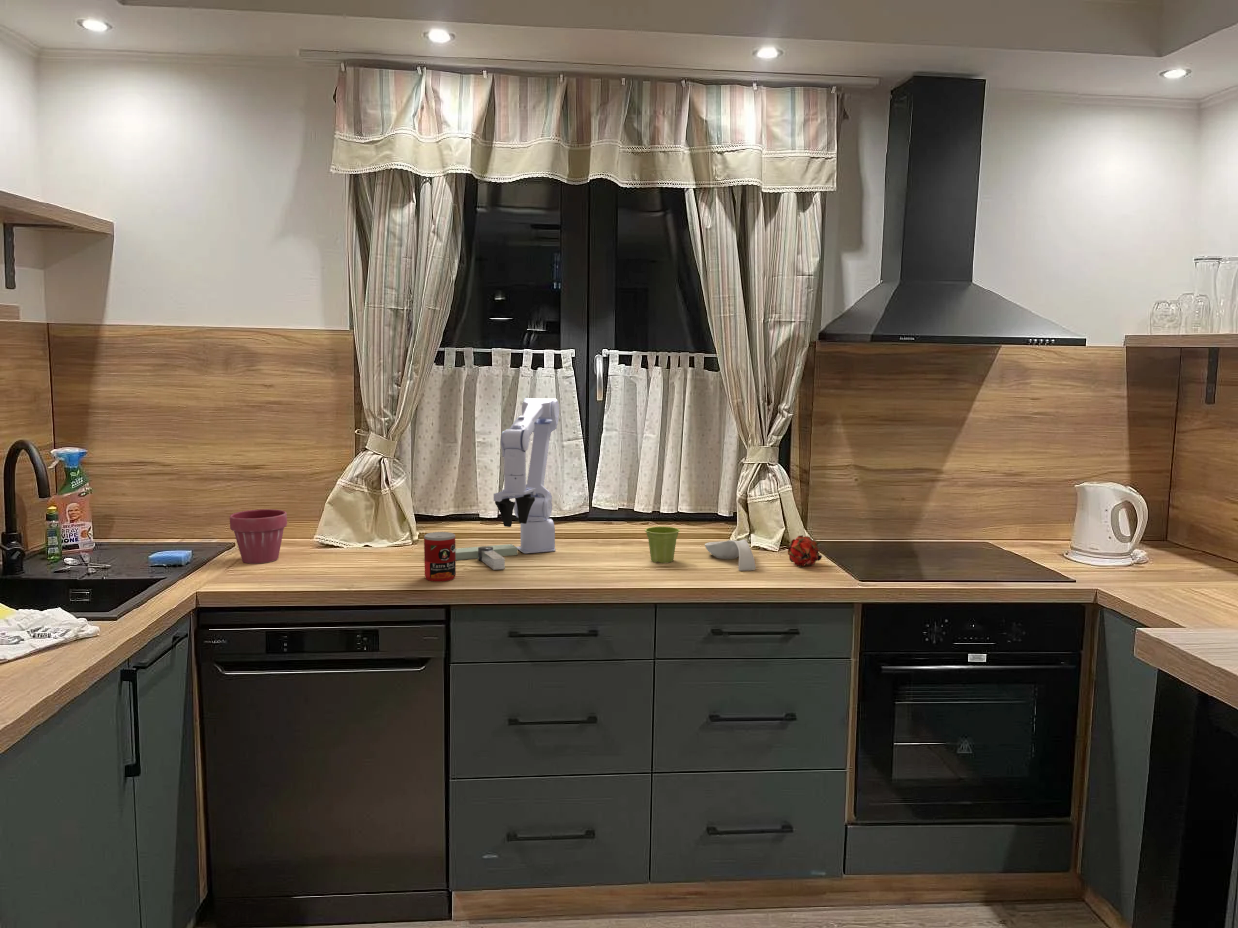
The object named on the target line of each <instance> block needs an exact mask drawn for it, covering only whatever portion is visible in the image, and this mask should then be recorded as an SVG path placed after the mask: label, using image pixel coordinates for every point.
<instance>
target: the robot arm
mask: <svg viewBox="0 0 1238 928" xmlns="http://www.w3.org/2000/svg"><path fill="white" fill-rule="evenodd" d="M559 414H560V405H559V401H558V399H557V398H556V397H553V398H537V397H536V398H531V397H530V398H529V397H524V400H523V401H522V403H521V415H519V416H518V417H516V419H515V420H514V421H513V423H512V424H511V426H510V427H509V428H506V429H505V430H503V431H502V432H501V434H500V447H501V455H502V458H503V480H504V481H503V483H504V484H503V485H504V487H503V488H504V489H501V491H498V492H495V493H493V502H494V504H495V505H496V508H497V509H498V511H499V514H500V516H501V519H502V524H503V527H507V528H512V526H513V513H514V515H515V517H516V518H518V519H517V520H518V523H519V524H520V526H519V527H520V546H516V547H517V551H518V550H519V551H520V552H522V553H523V554H535V553H546V552H556V526H555V522H554V520H553V519H552V518H550V517H551V515H552V511H553V503H552V501H553V496H552V493H551V491H549V489H548V488H546V487H545V480H546V479H545V478H546V471H547V470H546V469H547V462H548V456H549V455H548V454H549V446H550V441H551V436H552V432H553V431H555V430H557V429H558V424H559V418H560V415H559ZM532 434H533V437H532V446H531V453H530V458H529V459H530V460H529V468H528V474H526V472H527V471H526V470H527V468H526V467H527V466H526V463H527V461H526V460H527V459H526V457H527V456H526V455H527V453H526V452H527V450H528V449H529V445H530V444H529V443H530V441H531V439H530V437H531V436H532ZM512 499H514V501H512Z"/></svg>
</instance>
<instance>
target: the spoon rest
mask: <svg viewBox="0 0 1238 928" xmlns="http://www.w3.org/2000/svg"><path fill="white" fill-rule="evenodd" d="M704 547H705V549H706V550H707V552H708V553H710V554H711V555H712V556H714V557H715V558H716V559H721V560H734V559H738V569H737V570H738V571H739V572H740V571H741V572H742V571H745V572H746V571H755V570H756V569H757V566H756V561H755V557H754V553H753V551H752V548H751V547H750V545H749V543H748V541H747V539H741V540H734V539H729V540H722V541H720V540H719V541H709V542H706V543H704Z"/></svg>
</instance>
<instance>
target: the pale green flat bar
mask: <svg viewBox="0 0 1238 928" xmlns="http://www.w3.org/2000/svg"><path fill="white" fill-rule="evenodd" d="M483 546H484V545H483ZM483 546H481V547H483ZM489 546H490V547H493V551H495V552H496V553H498V554H499V555H501V556H502V557H506V556H507V557H508V556H517V555H518V549H517V547H518V546H515V545H514V544H513V543H509V544H507V543H506V544H498V545H497V544H496V545H495V544H493V545H489ZM479 547H480V546H472V547H470V546H469V547H459V548H455V549H456V561H461V560H472V559H478V548H479Z"/></svg>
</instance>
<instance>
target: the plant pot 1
mask: <svg viewBox="0 0 1238 928" xmlns="http://www.w3.org/2000/svg"><path fill="white" fill-rule="evenodd" d="M287 526H288V515H287V511H285V510H282V509H273V508H272V509H271V508H270V509H269V508H265V509H264V508H263V509H261V508H260V509H250V510H249V509H248V510H242V511H238V512H234V513H232V514H230V516H229V528H230V530H231V531H232V532H233V533H234V536H235V540H236V543H237V548H238V550H239V554H240V557H241V561H242V563H245V564H255V565H258V564H267V563H271V562H272V563H273V562H275V561H277V560H278V559H279V556H280V550H281V545H282V540H283V535H284V529H285V528H286V527H287Z"/></svg>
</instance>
